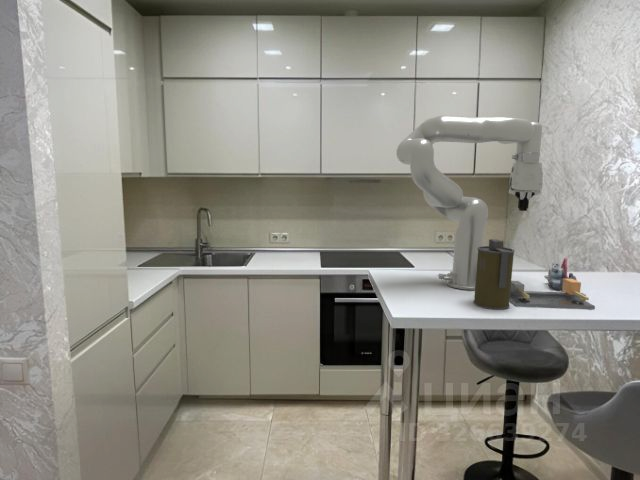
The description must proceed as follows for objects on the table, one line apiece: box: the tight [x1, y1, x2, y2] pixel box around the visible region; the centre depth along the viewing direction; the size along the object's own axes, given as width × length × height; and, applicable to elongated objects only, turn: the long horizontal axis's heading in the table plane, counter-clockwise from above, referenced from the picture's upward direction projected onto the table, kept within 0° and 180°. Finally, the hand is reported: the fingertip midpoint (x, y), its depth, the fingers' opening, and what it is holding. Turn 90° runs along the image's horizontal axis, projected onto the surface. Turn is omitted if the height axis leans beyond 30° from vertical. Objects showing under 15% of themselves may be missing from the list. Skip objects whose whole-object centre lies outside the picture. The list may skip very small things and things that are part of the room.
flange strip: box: [509, 298, 596, 310], centre depth 132 cm, size 23×6×1 cm, turn 86°
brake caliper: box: [544, 257, 577, 292], centre depth 152 cm, size 11×11×12 cm
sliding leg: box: [561, 279, 590, 302], centre depth 134 cm, size 3×12×5 cm, turn 176°
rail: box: [510, 290, 587, 301], centre depth 138 cm, size 24×2×2 cm, turn 86°
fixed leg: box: [510, 280, 530, 300], centre depth 135 cm, size 3×12×4 cm, turn 176°
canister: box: [473, 238, 515, 311], centre depth 129 cm, size 11×10×20 cm
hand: (522, 210), depth 153 cm, fingers closed
